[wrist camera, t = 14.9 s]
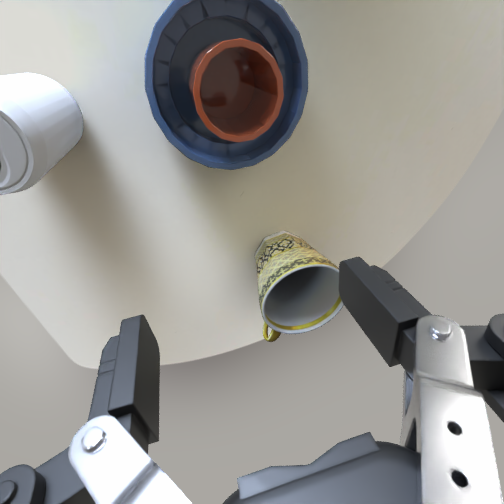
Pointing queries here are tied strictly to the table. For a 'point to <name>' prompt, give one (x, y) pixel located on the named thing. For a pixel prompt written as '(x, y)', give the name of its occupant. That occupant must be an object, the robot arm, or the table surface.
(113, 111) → the table surface
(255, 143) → the bowl
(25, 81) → the beverage can
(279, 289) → the ceramic cup
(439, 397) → the robot arm
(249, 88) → the cup
